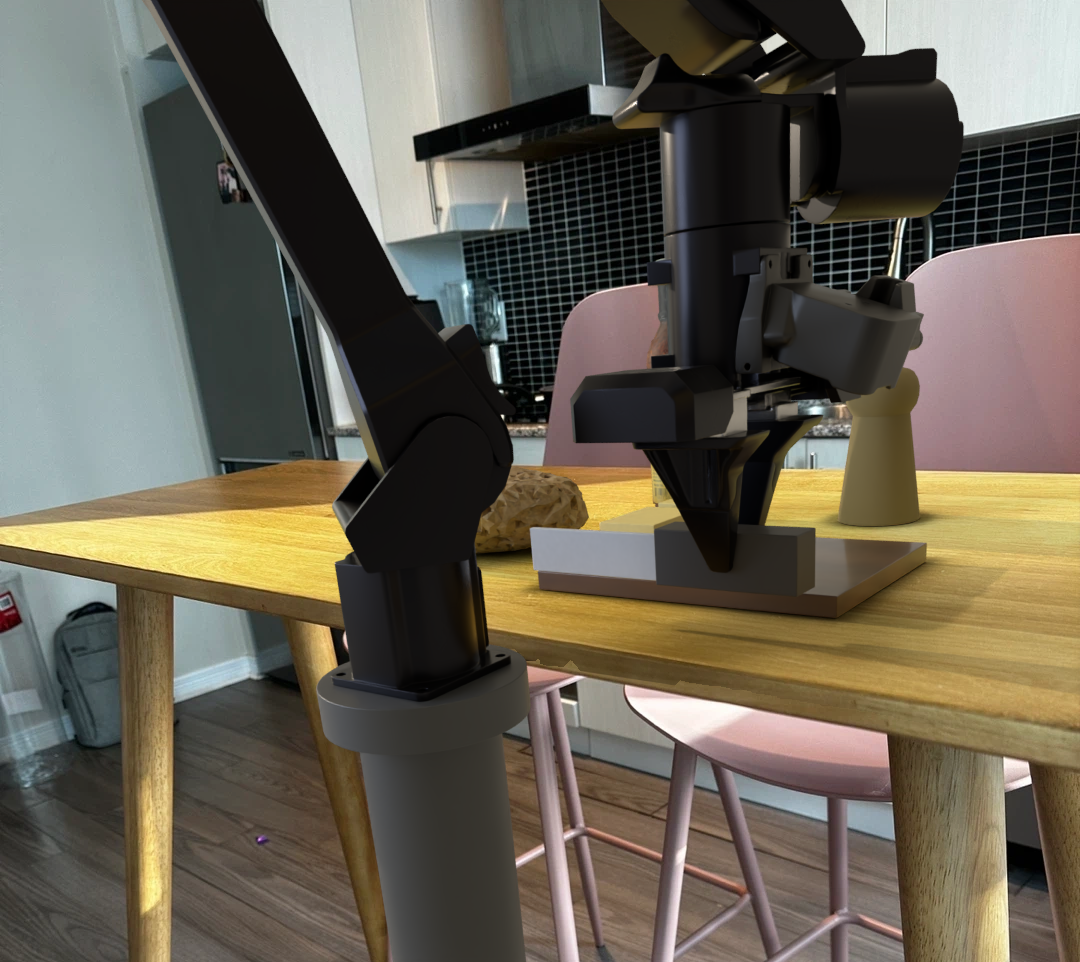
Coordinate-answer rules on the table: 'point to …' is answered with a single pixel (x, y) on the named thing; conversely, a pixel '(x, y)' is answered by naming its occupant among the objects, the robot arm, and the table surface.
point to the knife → (684, 557)
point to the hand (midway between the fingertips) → (732, 566)
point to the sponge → (529, 510)
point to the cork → (881, 457)
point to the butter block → (642, 520)
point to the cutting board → (839, 586)
